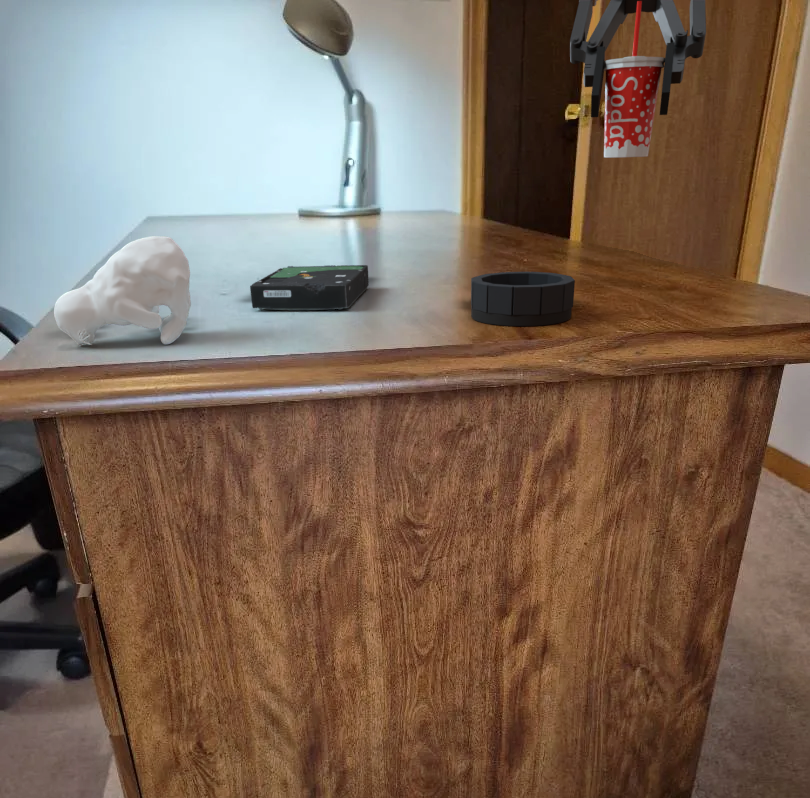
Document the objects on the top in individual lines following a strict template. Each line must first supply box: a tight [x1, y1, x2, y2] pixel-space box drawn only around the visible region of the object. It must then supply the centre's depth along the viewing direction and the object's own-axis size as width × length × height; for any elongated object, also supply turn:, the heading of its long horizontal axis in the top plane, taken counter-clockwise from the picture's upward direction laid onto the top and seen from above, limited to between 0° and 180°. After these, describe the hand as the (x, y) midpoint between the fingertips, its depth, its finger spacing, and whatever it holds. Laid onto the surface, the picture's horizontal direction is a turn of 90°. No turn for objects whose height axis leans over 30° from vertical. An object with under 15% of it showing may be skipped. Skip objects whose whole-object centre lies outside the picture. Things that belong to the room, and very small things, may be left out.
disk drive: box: [249, 264, 370, 311], centre depth 87 cm, size 10×3×15 cm
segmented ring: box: [470, 271, 576, 327], centre depth 76 cm, size 10×10×4 cm
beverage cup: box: [603, 1, 665, 158], centre depth 82 cm, size 6×6×14 cm
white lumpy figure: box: [53, 235, 192, 346], centre depth 68 cm, size 6×8×12 cm
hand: (629, 104), depth 80 cm, fingers closed on beverage cup, 6 cm apart
